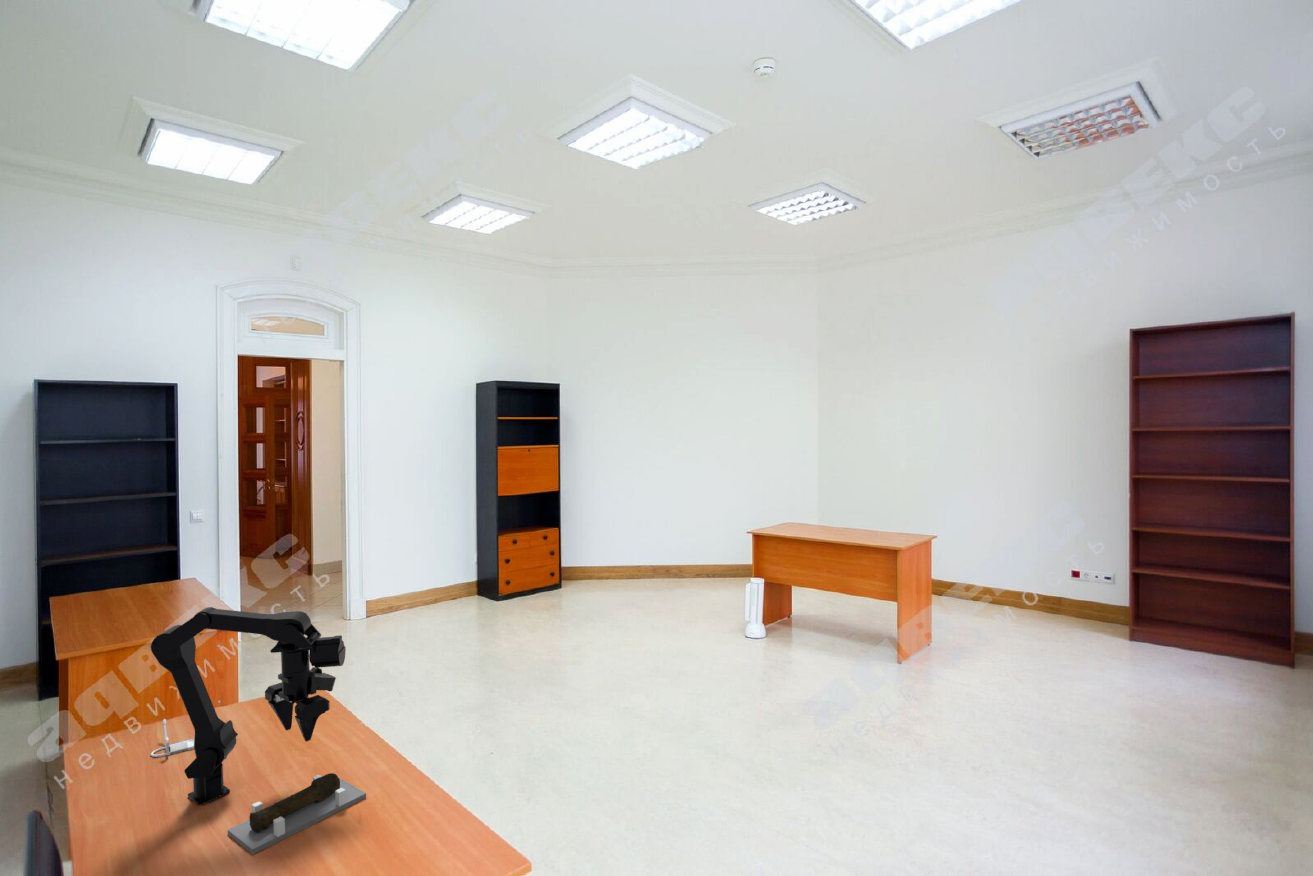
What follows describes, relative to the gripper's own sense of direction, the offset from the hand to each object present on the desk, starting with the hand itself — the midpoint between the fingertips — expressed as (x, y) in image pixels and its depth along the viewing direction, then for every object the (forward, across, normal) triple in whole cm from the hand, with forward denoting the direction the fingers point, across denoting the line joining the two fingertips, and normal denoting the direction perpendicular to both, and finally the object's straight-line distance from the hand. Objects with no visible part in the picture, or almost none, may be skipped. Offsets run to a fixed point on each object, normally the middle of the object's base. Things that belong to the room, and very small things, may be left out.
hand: (297, 735), depth 160 cm
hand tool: (+11, -11, +6) cm, 17 cm away
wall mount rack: (+12, +45, +7) cm, 47 cm away
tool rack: (+12, -12, +6) cm, 18 cm away
